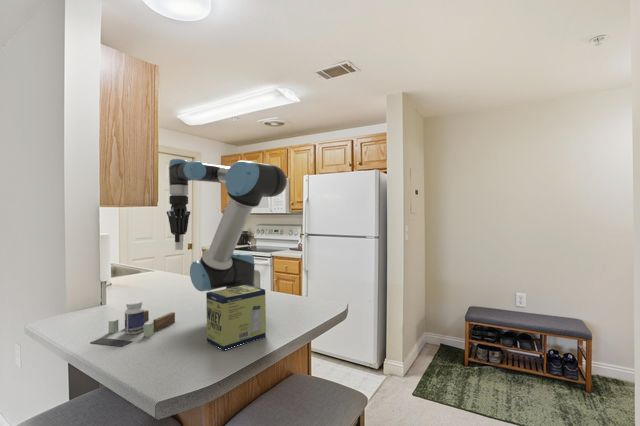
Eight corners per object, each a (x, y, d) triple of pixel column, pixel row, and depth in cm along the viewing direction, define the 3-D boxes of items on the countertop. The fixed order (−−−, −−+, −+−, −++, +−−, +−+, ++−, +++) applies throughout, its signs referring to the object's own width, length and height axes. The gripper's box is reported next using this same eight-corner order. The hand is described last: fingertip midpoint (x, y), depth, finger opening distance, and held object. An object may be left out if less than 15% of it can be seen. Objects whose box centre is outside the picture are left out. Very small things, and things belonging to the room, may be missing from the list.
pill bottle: (148, 329, 112) (147, 300, 112) (135, 335, 107) (135, 305, 107) (134, 328, 113) (133, 299, 113) (120, 334, 108) (120, 304, 108)
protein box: (205, 342, 101) (205, 292, 101) (248, 329, 112) (248, 284, 112) (222, 352, 93) (222, 297, 93) (266, 337, 105) (266, 288, 105)
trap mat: (132, 341, 101) (132, 341, 101) (121, 346, 97) (121, 346, 97) (101, 338, 104) (101, 337, 104) (89, 343, 100) (89, 342, 100)
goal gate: (153, 334, 107) (153, 322, 107) (148, 336, 105) (148, 324, 105) (113, 330, 111) (113, 319, 111) (108, 332, 109) (108, 320, 109)
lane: (174, 322, 120) (174, 312, 120) (157, 330, 111) (157, 320, 111) (145, 319, 123) (145, 310, 123) (125, 327, 114) (125, 317, 114)
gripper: (181, 196, 149) (181, 247, 148) (160, 194, 136) (161, 251, 136) (195, 196, 147) (195, 248, 147) (176, 194, 134) (176, 251, 134)
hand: (179, 249), depth 141 cm, fingers closed
